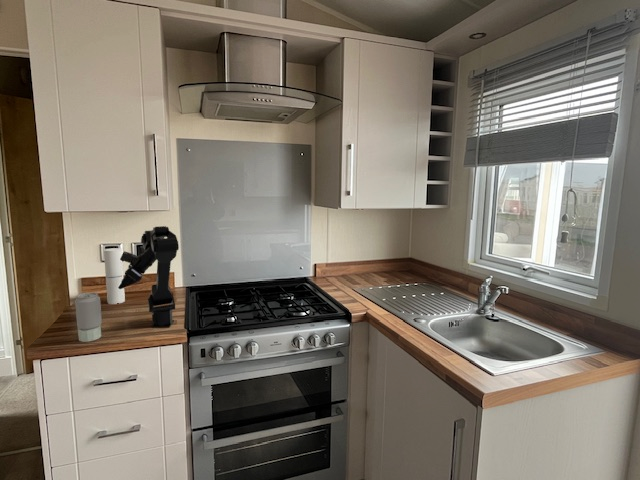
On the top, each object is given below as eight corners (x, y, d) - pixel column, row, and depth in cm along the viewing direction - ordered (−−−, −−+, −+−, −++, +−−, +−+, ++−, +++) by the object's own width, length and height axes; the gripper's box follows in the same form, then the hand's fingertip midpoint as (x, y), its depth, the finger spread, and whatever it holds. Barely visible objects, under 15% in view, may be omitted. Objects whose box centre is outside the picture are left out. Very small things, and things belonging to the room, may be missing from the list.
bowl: (104, 333, 134) (103, 323, 133) (95, 341, 127) (94, 330, 127) (85, 334, 133) (84, 323, 133) (74, 341, 127) (73, 330, 126)
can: (73, 331, 125) (71, 298, 124) (81, 323, 132) (79, 292, 131) (98, 329, 127) (95, 296, 126) (104, 322, 134) (102, 290, 133)
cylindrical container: (103, 303, 168) (100, 250, 165) (116, 298, 175) (113, 247, 172) (116, 304, 166) (112, 251, 163) (128, 300, 173) (125, 248, 169)
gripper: (134, 241, 157) (107, 268, 155) (130, 248, 140) (99, 278, 137) (155, 258, 161) (129, 284, 159) (153, 267, 144) (124, 296, 141)
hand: (120, 285), depth 149 cm, fingers open, 9 cm apart
